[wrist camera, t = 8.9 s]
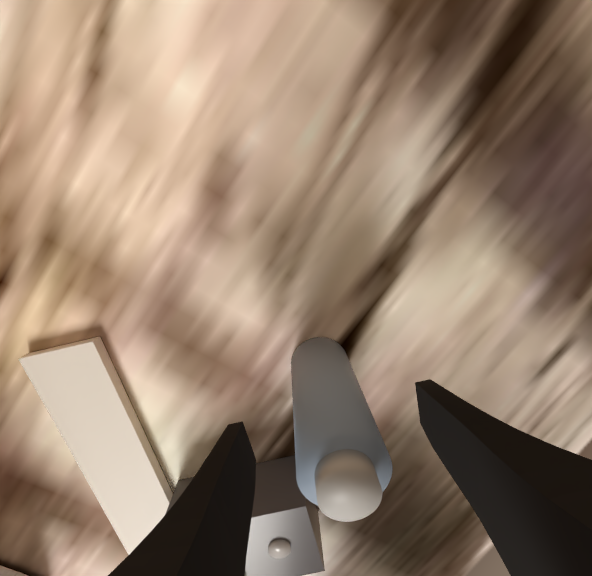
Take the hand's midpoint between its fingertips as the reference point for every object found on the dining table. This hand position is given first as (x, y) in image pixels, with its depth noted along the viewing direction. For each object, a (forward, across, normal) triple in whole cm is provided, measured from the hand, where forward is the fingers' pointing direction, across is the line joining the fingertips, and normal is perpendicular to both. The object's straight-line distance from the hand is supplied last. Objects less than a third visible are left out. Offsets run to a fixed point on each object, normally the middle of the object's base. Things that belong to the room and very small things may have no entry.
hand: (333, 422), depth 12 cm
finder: (+5, +6, +8) cm, 12 cm away
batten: (+5, +13, +4) cm, 14 cm away
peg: (+5, 0, 0) cm, 5 cm away
